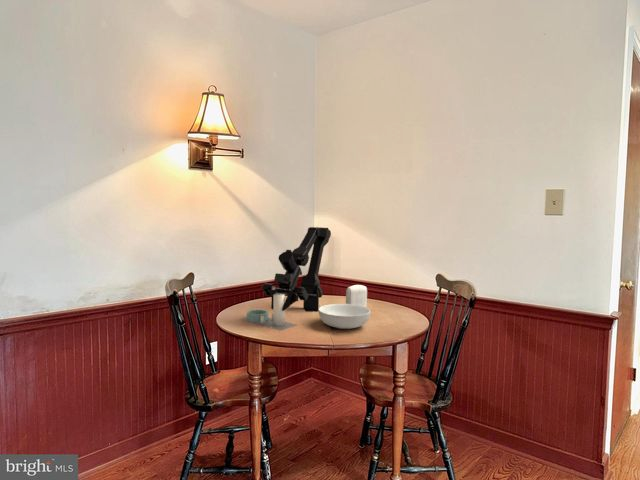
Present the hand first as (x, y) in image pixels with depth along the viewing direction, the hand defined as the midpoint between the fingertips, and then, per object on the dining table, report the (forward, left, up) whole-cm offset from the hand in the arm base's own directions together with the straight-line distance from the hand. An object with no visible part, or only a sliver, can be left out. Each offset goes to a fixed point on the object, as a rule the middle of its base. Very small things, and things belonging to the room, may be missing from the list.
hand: (277, 309), depth 173 cm
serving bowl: (-27, -2, -7) cm, 28 cm away
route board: (+4, -5, -7) cm, 10 cm away
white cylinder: (-1, -1, -6) cm, 7 cm away
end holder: (+8, -9, -6) cm, 14 cm away
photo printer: (-35, -24, -7) cm, 43 cm away
